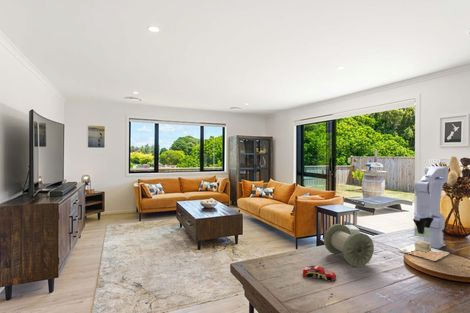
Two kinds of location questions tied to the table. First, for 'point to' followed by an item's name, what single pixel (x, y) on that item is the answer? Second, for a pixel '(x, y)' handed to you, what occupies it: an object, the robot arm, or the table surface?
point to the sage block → (426, 232)
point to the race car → (318, 273)
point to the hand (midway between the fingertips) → (423, 232)
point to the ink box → (352, 229)
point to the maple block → (422, 246)
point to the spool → (349, 244)
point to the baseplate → (412, 248)
